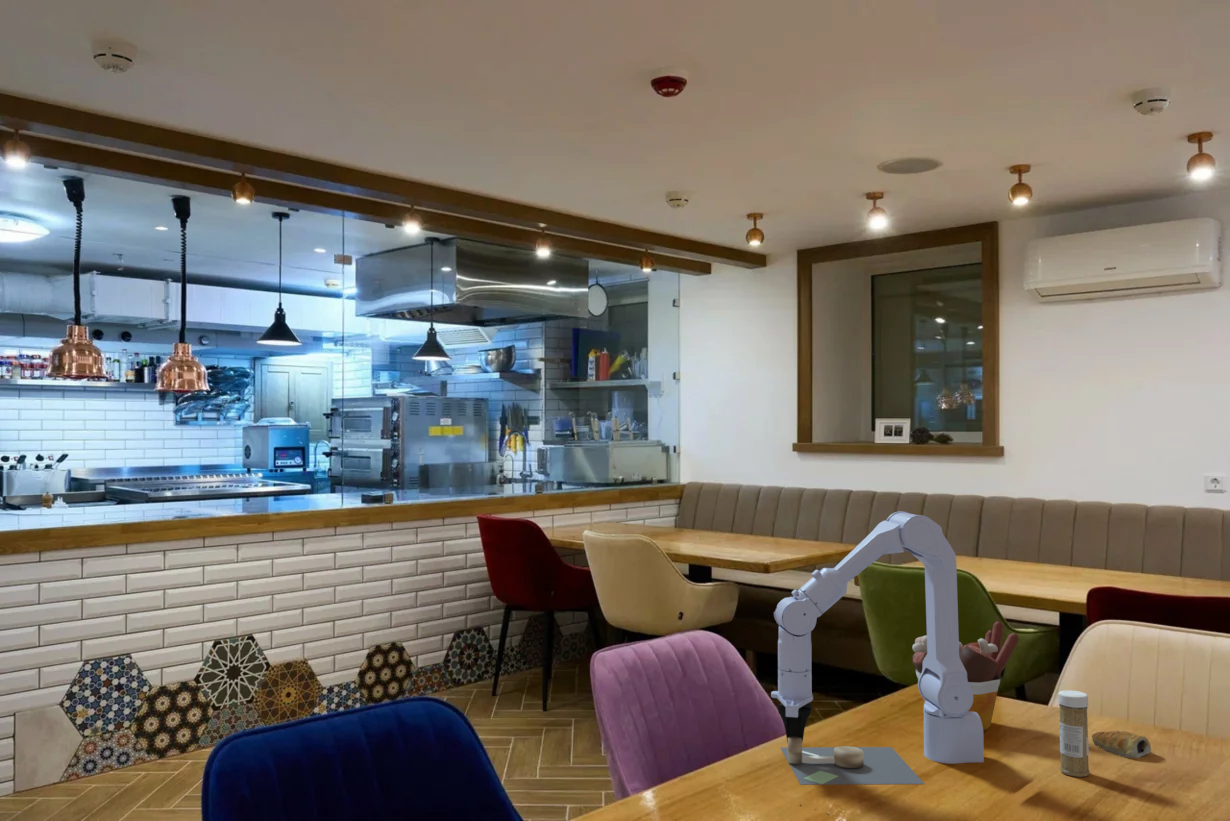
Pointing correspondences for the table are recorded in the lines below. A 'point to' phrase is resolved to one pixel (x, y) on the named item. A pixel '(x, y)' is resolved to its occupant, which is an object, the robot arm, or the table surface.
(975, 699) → the bucket of meat
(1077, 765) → the spice jar
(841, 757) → the crank handle
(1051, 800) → the table surface
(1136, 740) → the pastry
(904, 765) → the dial board
